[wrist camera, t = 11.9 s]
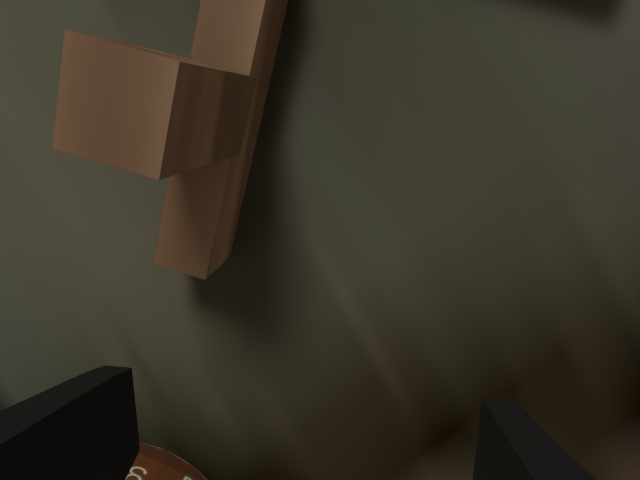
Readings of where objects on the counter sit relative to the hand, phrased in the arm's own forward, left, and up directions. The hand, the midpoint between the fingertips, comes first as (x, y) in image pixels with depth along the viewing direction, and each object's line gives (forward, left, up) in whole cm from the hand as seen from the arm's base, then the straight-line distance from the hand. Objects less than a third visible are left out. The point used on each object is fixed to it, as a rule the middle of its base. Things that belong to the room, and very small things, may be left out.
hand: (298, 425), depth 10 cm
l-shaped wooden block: (+6, -5, -11) cm, 13 cm away
